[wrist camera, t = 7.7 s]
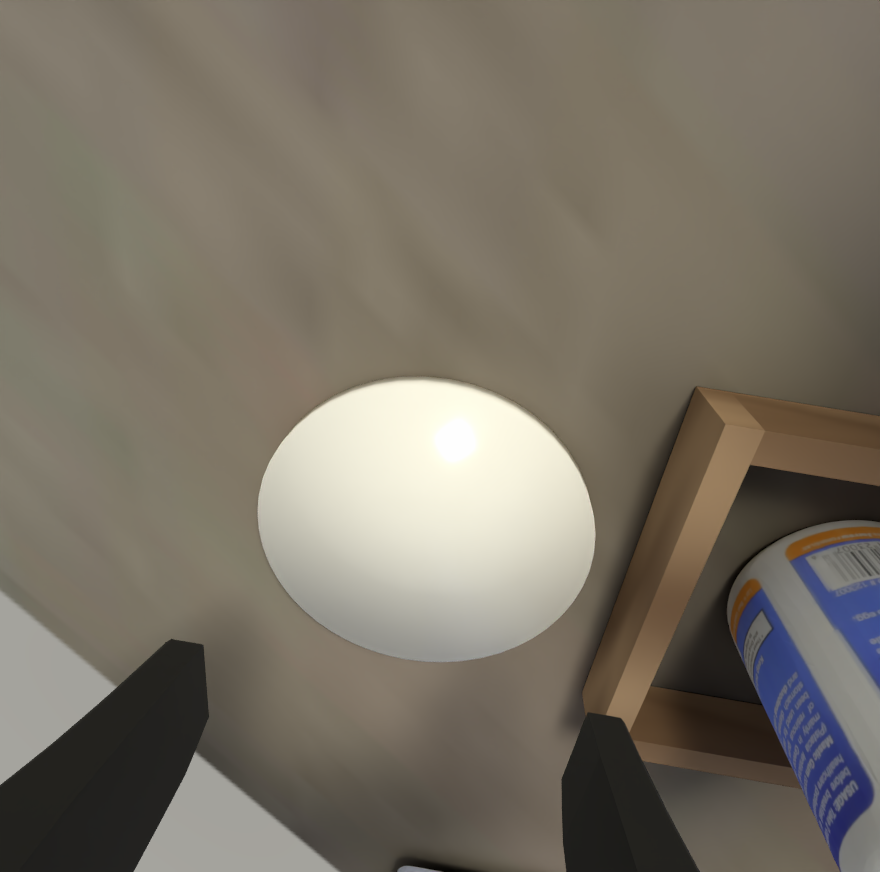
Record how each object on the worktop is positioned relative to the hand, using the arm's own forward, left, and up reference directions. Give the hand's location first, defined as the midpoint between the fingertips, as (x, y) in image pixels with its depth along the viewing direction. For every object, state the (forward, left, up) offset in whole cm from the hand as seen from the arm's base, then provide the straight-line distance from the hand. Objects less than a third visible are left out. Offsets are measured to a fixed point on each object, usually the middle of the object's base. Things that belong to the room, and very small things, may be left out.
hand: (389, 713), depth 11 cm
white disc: (0, 0, -6) cm, 6 cm away
